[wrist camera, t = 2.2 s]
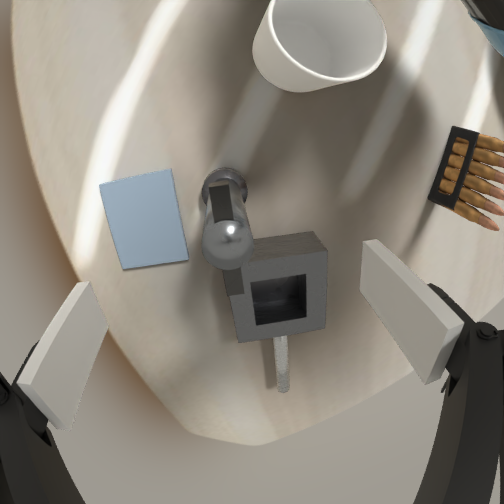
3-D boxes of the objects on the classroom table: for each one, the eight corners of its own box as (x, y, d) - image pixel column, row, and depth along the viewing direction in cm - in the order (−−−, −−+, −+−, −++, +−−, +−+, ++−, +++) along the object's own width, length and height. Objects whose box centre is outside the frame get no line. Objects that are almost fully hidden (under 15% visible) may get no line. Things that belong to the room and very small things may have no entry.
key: (197, 158, 27) (177, 193, 15) (242, 152, 28) (260, 181, 15) (208, 223, 31) (201, 301, 18) (250, 218, 31) (271, 291, 18)
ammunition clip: (435, 203, 32) (499, 240, 21) (427, 198, 32) (491, 235, 21) (460, 131, 28) (529, 149, 17) (452, 125, 28) (522, 141, 17)
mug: (344, 8, 21) (394, -26, 12) (326, 103, 26) (378, 98, 16) (266, -14, 20) (287, -66, 10) (243, 83, 25) (255, 62, 15)
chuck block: (223, 243, 32) (224, 265, 27) (312, 231, 32) (327, 250, 28) (248, 379, 42) (251, 404, 37) (311, 368, 42) (319, 392, 38)
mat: (101, 183, 27) (99, 185, 27) (171, 168, 28) (170, 169, 27) (124, 266, 32) (122, 269, 31) (189, 257, 32) (188, 259, 31)
